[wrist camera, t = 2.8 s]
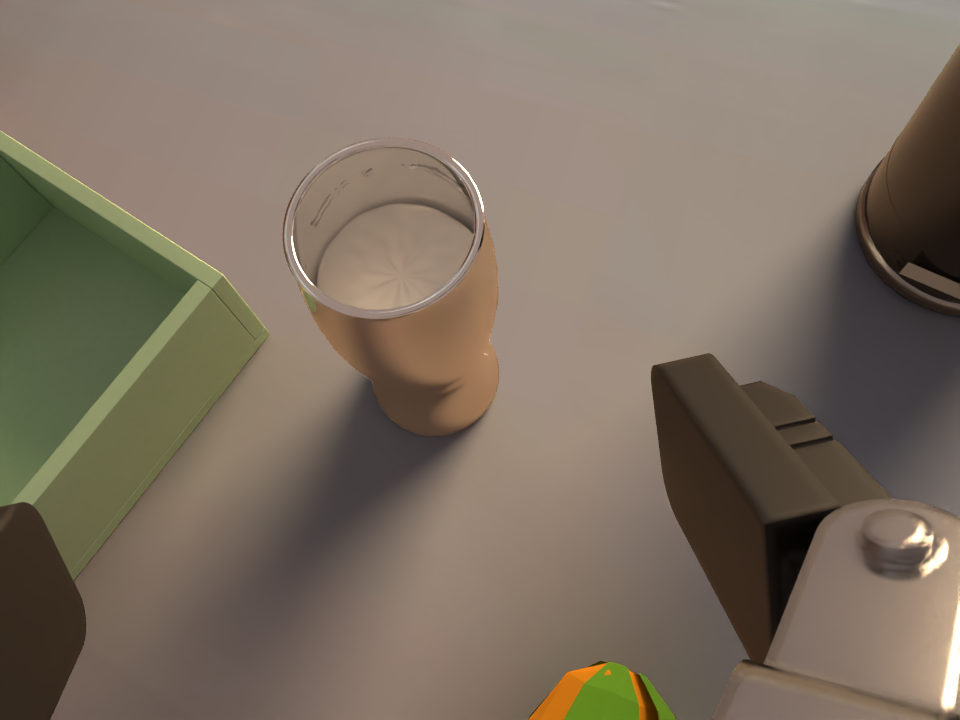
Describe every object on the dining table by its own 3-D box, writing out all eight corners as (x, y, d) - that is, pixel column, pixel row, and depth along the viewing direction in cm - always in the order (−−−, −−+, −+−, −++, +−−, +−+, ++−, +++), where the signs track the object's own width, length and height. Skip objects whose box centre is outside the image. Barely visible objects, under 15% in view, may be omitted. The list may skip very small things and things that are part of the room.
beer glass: (426, 476, 40) (364, 369, 26) (335, 370, 42) (233, 218, 28) (538, 380, 42) (536, 229, 27) (445, 282, 44) (398, 94, 30)
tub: (61, 196, 47) (-15, 120, 41) (270, 333, 43) (223, 274, 37) (-169, 449, 43) (-294, 408, 36) (41, 623, 39) (-57, 612, 33)
